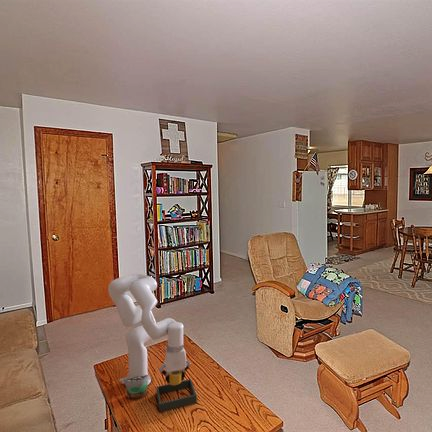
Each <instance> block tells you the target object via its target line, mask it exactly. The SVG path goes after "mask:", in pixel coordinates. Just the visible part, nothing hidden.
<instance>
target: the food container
mask: <svg viewBox="0 0 432 432" xmlns="http://www.w3.org/2000/svg"><path fill="white" fill-rule="evenodd" d="M149 376H150V373H148V375H145V376H138V377H134V378H131V379H127V380H125V379H124V384H123V385H125V391H126V397H127V399H129V400H140V399H142V398H144V396H146V395H147V393H148V385H149V384H148V380H149ZM147 384H148V385H147Z"/></svg>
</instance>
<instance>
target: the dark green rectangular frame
mask: <svg viewBox="0 0 432 432" xmlns="http://www.w3.org/2000/svg"><path fill="white" fill-rule="evenodd" d="M187 388H189V389H190V392H191V395H188V396H184V397H180V398H176V399H172V400H168V401H164V402H162V401H161V395H162V394H167V393H170V392H175V391H178V390H183V389H187ZM156 398H157V405H158V411H159V413H162V412H165V411H166V412H167V411H170V410H174V409H177V408H182V407H185V406H186V407H187V406H188V405H193V404H197V393H196V389H195V386H194V384H193V380H192V379H191V378H190V379H184V380H182V382H181V383H180V384H178V385H170V384H169V383H168V384H167V383H166V384H163V385H158V386H156Z"/></svg>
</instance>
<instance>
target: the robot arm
mask: <svg viewBox="0 0 432 432" xmlns="http://www.w3.org/2000/svg"><path fill="white" fill-rule="evenodd" d="M157 288H158V282H157V280H156V279H155V278H154V277H152V276H150V275H146V274H142V273H133V274H129V275H125V276H122V277H121V276H120V277H117V278H115V279H113V280H112V281H110V283H109V284H108V287H107V289H108V290H107V292H108V296H109V297H110V299H111V300H112V302H113V304H114V305H115V307H116V310H117V312H118V315H119V317H120V320H121V322H122V325H123V326H124V327H126V328H129V327H130V328H131V327H133V326H135V327H133V328H131V329H130V330H128V332H126V335H125V342H126V345H127V346H126V347H127V356H128V358H127V361H128V374H127V376H125V377H122V378H119V383H121V384H122V385H125V384H124V379H125V380H127V379H131V378H134V377H138V376H145V375H148V374H149V371H148V369H149V368H148V367H149V366H148V349H147V347H146V346H145V345H144V344H145V343H147V342H148V341H151V340H158V339H161V338H162V337H165V336H167V345H166V346H165V347H164V350H165V351H166V352H165V354H164V355H165V357H164V363H162V365H160V366H159V368H158V371H159V372H160V373H161V374H163V376H165V378H164V379H165V382H166V385H167V384H169V375H168V374H169V372H172V371H177V370H182V381H185V379H184V378H185V377H186V372H187V370H188V369H189V368H190V367H191V365H192V362H191V361H190V360H188V359H187V354H186V349H185V347H184V323H182V322H180V321H176V320H175V319H173V318H171V317H166V318H164V319H162V320H160V321H156V319H155V316H154V314H153V311H152V310H153V309H154V308H155V307H156V306H157V304H158V299H157V298H156V296H155V295H154V293H153V292H154V291H156V290H157ZM127 292H130V294H131V295H132V297H133V299H134V300H135V302H136V303H137V305H135V303H134V300H133V299H132V298H131V296H130V295H128V294H126V293H127ZM136 325H137V326H136ZM151 381H152V378H151V376H150V375H149V380H148V384H147V386H149V384H151Z"/></svg>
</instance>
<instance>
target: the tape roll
mask: <svg viewBox="0 0 432 432" xmlns="http://www.w3.org/2000/svg"><path fill="white" fill-rule="evenodd" d="M168 375H169V383H168V384H170V385H178V384H180V383H181V382H182V381H183V380H182V370H177V371H172V372H169V374H168Z"/></svg>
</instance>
